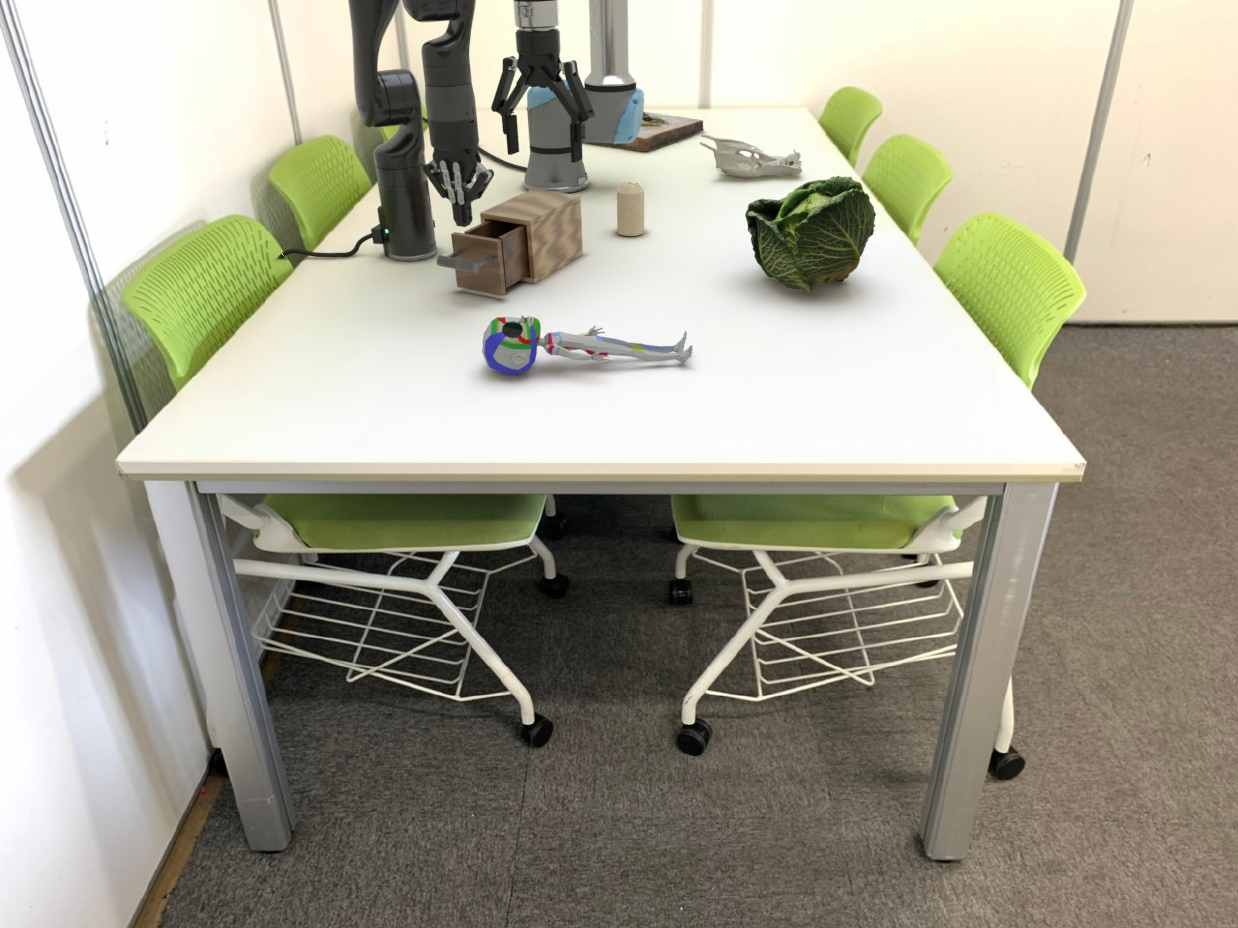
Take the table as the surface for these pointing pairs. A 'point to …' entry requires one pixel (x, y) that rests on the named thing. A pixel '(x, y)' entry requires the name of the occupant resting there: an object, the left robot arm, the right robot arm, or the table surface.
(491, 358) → the toy
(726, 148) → the anatomical model
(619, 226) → the candle
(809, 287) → the vegetable
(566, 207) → the cabinet
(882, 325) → the table surface
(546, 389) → the table surface
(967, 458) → the table surface
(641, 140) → the plaque
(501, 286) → the drawer
